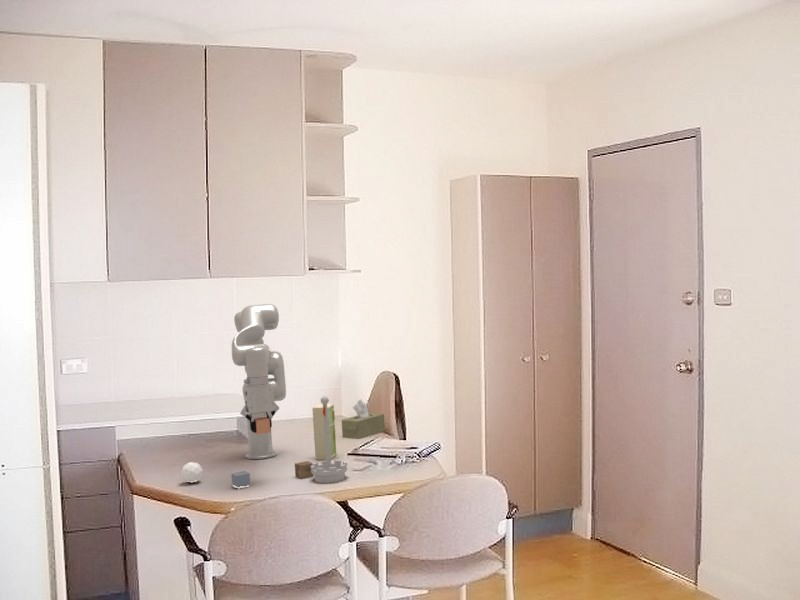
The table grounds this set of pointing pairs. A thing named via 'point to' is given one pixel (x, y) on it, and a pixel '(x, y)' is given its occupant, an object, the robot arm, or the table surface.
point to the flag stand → (328, 457)
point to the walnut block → (303, 469)
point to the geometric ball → (191, 472)
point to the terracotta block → (262, 425)
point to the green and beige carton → (320, 431)
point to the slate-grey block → (241, 478)
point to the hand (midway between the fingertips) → (261, 430)
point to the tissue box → (362, 423)
